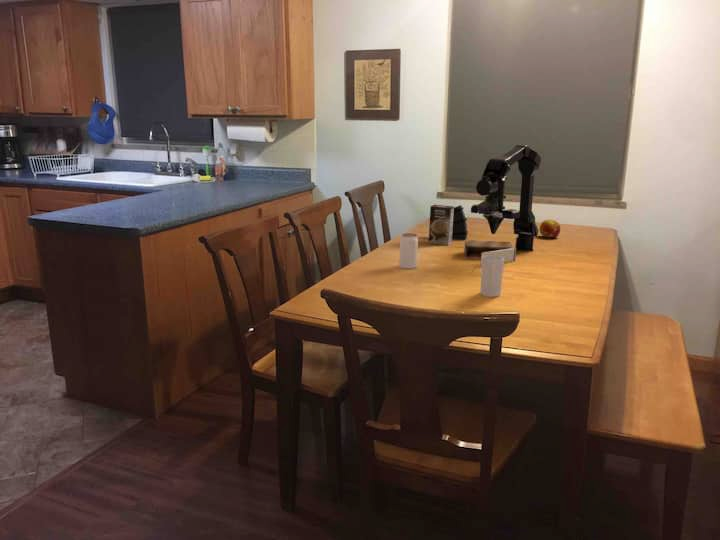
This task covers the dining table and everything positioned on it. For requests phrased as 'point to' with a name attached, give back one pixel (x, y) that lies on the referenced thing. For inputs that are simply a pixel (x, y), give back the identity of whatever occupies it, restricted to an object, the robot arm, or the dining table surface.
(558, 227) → the fruit
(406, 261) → the can
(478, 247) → the walnut box
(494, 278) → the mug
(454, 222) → the black piece
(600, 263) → the dining table surface
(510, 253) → the door
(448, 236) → the coffee box
